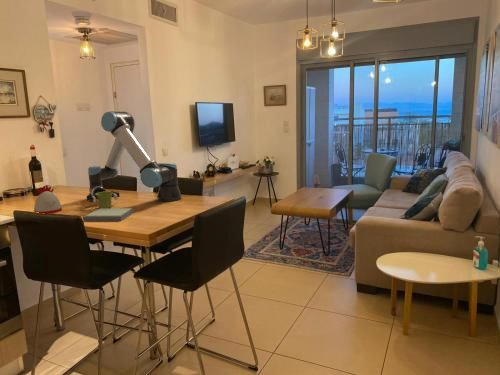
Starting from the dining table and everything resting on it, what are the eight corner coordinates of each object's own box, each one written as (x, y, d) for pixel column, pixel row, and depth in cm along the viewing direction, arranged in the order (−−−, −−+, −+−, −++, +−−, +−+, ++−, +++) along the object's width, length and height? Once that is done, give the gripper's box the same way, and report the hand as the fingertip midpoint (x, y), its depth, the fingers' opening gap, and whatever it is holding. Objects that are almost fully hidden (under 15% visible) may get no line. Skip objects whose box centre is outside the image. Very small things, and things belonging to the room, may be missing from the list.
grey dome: (31, 211, 212) (28, 186, 209) (57, 207, 221) (54, 182, 219) (38, 215, 202) (35, 188, 199) (65, 211, 211) (62, 185, 209)
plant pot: (113, 208, 214) (112, 193, 213) (96, 210, 212) (94, 195, 210) (114, 205, 223) (113, 191, 222) (97, 206, 220) (96, 192, 219)
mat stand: (134, 212, 204) (134, 207, 204) (121, 220, 186) (120, 215, 186) (99, 212, 206) (98, 208, 205) (83, 221, 188) (82, 216, 187)
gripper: (119, 196, 238) (127, 202, 220) (79, 201, 226) (84, 207, 208) (118, 184, 237) (126, 189, 218) (78, 189, 225) (83, 194, 206)
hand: (105, 198), depth 213 cm, fingers open, 11 cm apart
